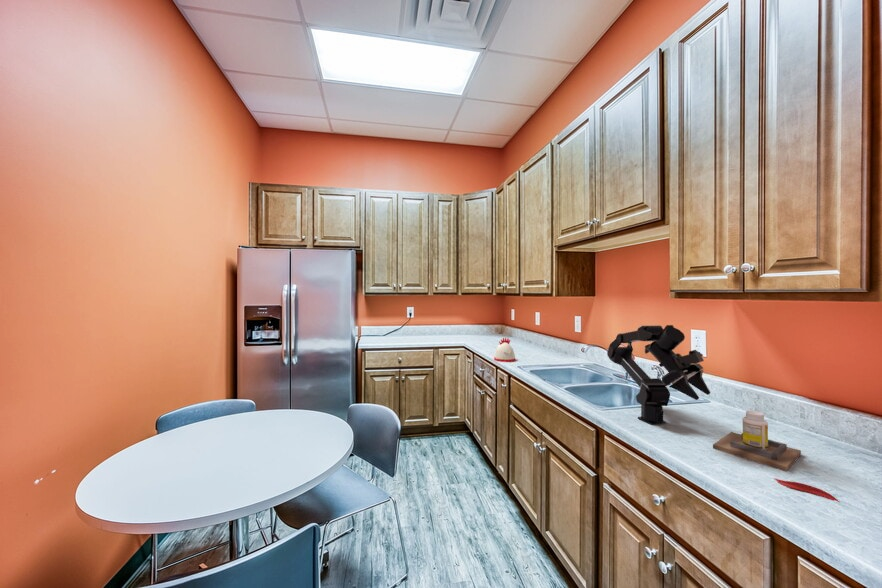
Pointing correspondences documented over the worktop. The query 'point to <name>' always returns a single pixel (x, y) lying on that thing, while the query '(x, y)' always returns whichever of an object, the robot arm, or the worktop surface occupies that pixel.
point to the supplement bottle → (755, 430)
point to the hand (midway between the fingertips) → (703, 396)
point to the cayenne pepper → (806, 489)
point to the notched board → (759, 451)
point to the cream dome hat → (504, 352)
